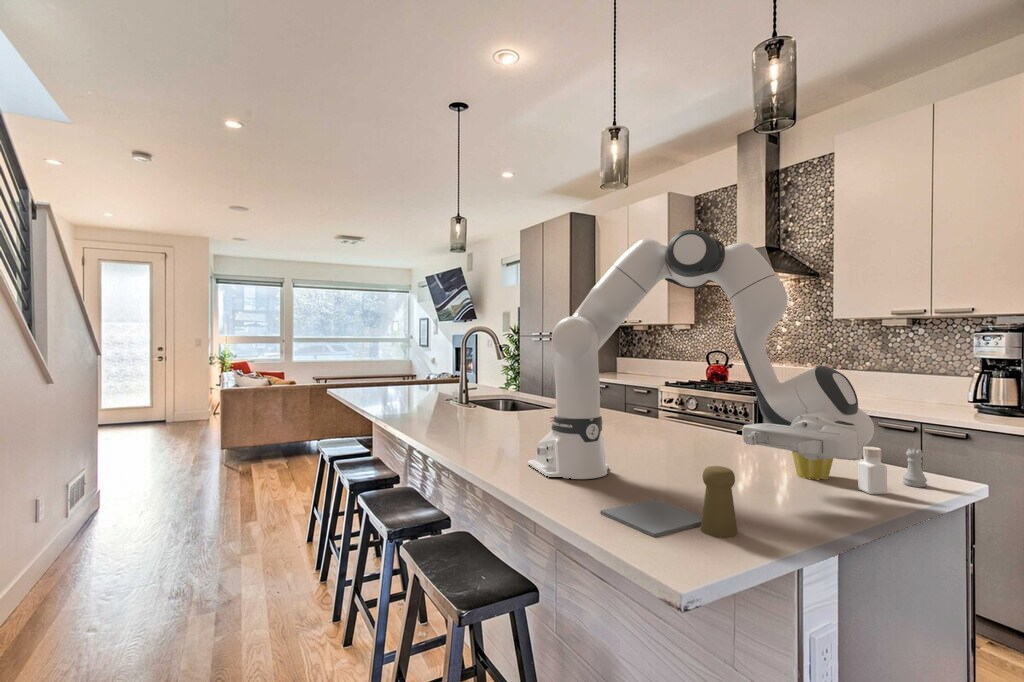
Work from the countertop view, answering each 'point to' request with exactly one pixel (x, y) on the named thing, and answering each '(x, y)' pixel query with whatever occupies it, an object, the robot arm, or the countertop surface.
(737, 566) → the countertop surface
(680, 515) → the plate
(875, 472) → the salt shaker
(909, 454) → the rook chess piece
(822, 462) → the plant pot
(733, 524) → the olive chess pawn
